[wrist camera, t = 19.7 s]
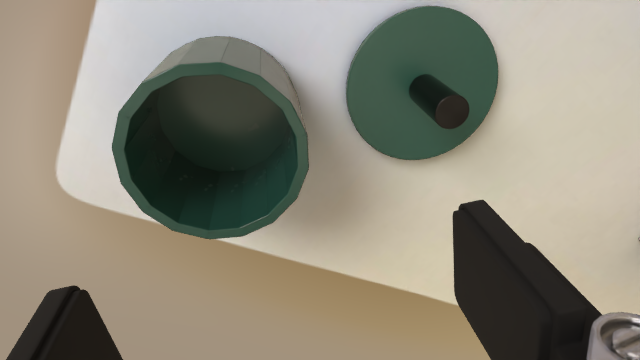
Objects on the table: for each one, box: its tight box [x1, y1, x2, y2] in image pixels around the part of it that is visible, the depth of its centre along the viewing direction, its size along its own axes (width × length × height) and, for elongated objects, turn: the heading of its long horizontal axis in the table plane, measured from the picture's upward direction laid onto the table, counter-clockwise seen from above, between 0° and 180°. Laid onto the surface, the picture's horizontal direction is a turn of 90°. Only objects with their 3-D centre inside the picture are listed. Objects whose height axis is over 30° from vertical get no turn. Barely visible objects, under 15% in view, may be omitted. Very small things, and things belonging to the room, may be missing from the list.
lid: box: [346, 6, 498, 160], centre depth 33 cm, size 12×12×7 cm
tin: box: [112, 36, 309, 239], centre depth 31 cm, size 11×11×10 cm
